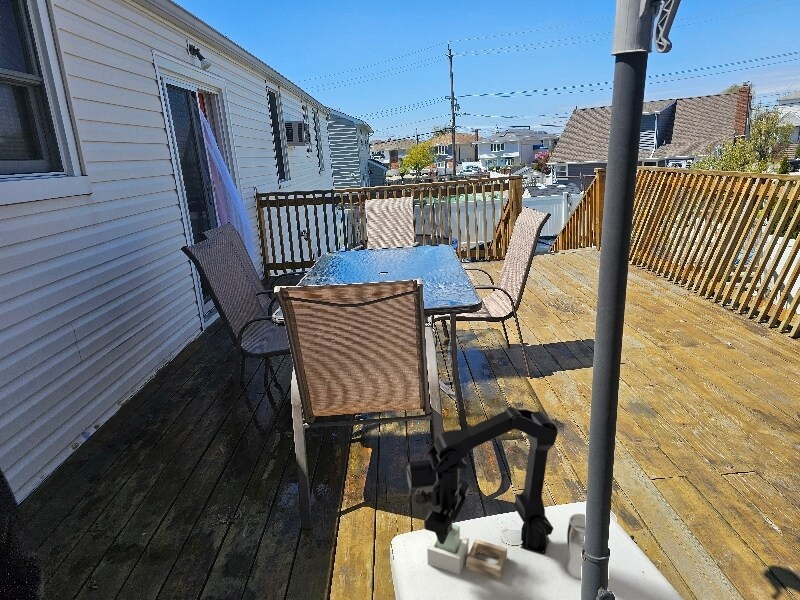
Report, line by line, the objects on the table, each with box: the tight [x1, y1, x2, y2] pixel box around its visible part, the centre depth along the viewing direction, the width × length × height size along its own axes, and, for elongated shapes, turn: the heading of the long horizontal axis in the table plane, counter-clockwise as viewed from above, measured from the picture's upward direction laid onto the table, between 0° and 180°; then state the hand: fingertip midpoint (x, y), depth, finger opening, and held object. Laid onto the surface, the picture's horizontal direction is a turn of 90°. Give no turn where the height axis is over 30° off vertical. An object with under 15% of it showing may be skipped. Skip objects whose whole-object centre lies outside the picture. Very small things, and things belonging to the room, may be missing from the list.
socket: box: [426, 534, 470, 575], centre depth 136 cm, size 9×8×5 cm
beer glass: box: [565, 513, 586, 580], centre depth 129 cm, size 7×7×15 cm
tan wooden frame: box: [465, 538, 508, 580], centre depth 134 cm, size 9×8×3 cm
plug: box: [437, 523, 461, 554], centre depth 135 cm, size 5×4×10 cm
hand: (447, 531), depth 134 cm, fingers open, 9 cm apart
